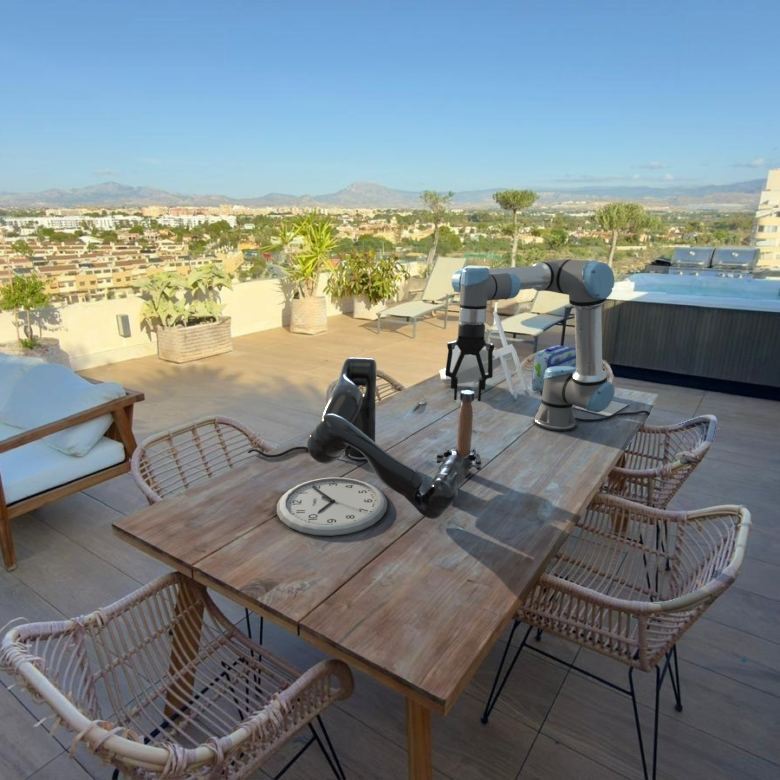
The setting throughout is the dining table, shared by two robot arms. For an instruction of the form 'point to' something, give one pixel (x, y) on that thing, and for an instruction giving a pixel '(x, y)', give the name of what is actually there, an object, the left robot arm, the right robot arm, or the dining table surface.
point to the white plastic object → (471, 368)
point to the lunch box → (551, 363)
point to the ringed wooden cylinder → (465, 429)
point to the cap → (467, 396)
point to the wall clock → (331, 506)
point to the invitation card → (608, 408)
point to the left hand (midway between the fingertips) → (465, 449)
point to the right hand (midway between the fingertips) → (467, 399)
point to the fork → (420, 403)
